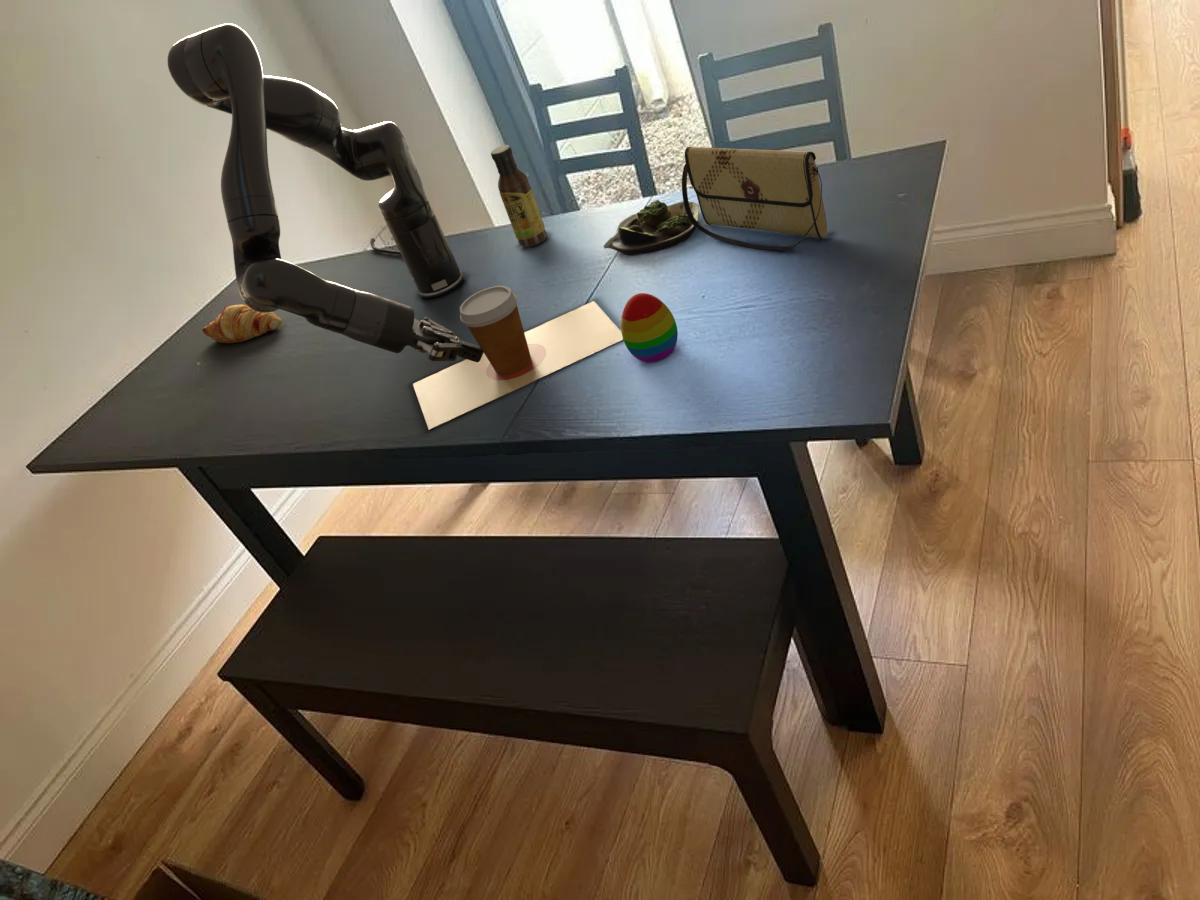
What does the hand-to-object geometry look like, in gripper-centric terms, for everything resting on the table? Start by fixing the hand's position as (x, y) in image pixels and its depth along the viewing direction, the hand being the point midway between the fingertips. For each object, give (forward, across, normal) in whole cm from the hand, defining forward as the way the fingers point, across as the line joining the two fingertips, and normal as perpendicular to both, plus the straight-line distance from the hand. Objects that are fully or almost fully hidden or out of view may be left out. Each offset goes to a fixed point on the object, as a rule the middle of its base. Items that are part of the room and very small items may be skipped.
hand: (480, 355), depth 151 cm
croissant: (-27, +64, +33) cm, 77 cm away
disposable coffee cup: (+6, 0, 0) cm, 6 cm away
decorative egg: (+20, -16, -14) cm, 29 cm away
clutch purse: (+39, +5, -34) cm, 52 cm away
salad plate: (+31, +24, -25) cm, 46 cm away
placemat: (+6, 0, -1) cm, 6 cm away
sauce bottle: (+17, +46, -12) cm, 50 cm away
